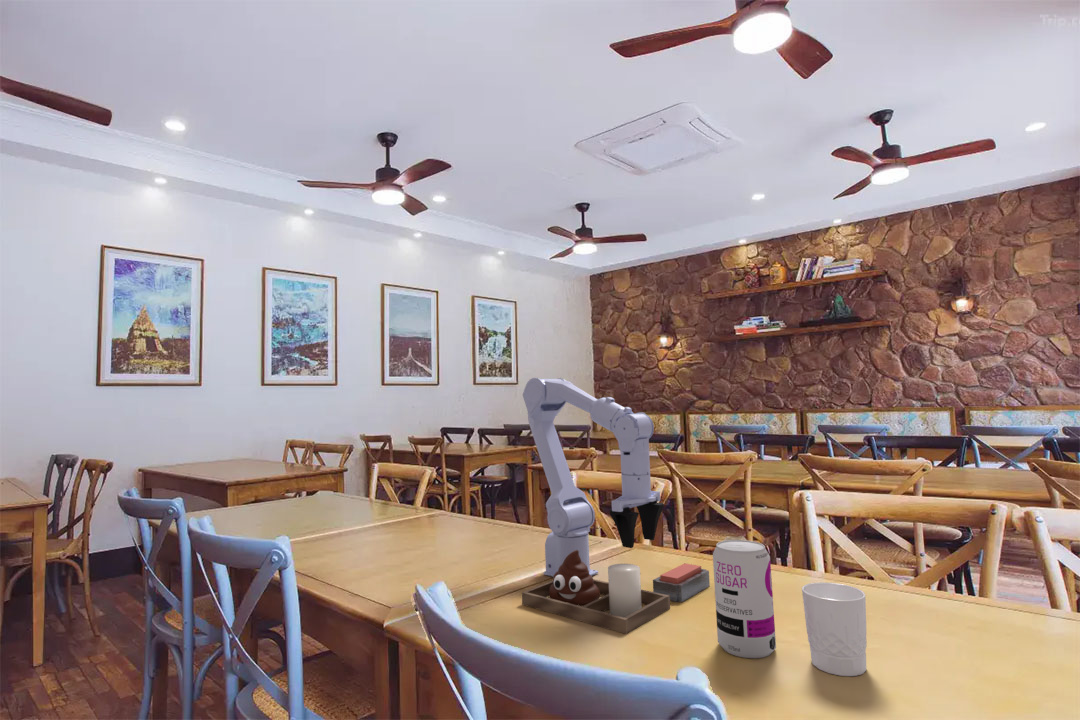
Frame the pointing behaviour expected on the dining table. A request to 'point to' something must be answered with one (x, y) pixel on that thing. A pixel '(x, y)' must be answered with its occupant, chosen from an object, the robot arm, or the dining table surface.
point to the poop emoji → (573, 582)
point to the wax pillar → (624, 589)
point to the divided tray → (598, 607)
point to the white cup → (836, 627)
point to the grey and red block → (683, 586)
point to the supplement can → (744, 598)
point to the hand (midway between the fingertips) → (638, 543)
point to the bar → (680, 573)
